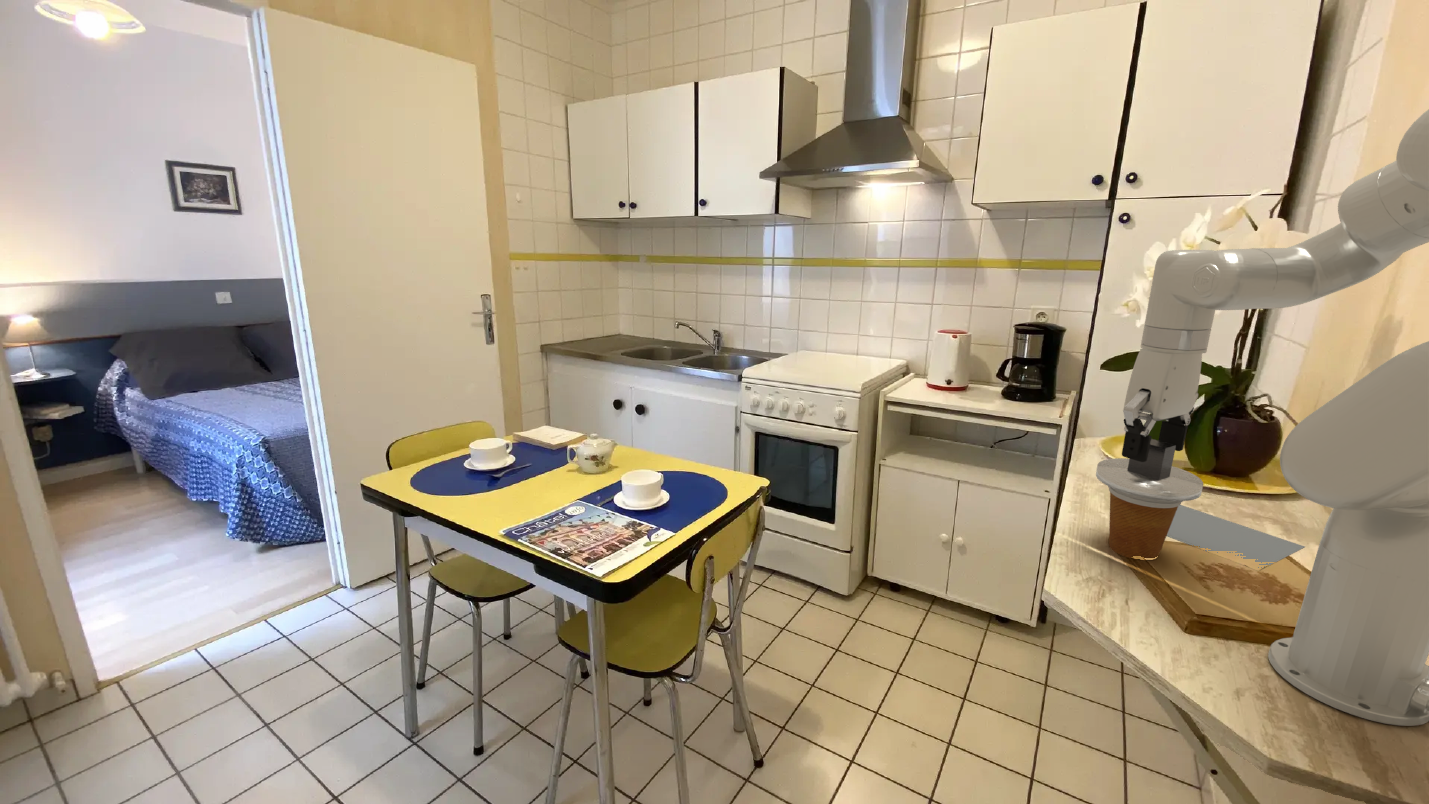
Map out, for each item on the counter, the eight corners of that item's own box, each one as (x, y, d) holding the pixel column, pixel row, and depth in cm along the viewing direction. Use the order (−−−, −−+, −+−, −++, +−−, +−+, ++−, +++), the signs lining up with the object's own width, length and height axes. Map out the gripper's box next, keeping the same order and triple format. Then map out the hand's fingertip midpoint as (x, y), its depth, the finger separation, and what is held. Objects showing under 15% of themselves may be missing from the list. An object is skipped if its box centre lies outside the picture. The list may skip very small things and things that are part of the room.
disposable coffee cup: (1099, 560, 91) (1112, 488, 87) (1094, 533, 99) (1106, 467, 95) (1176, 575, 86) (1192, 500, 83) (1164, 546, 94) (1178, 477, 91)
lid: (1219, 489, 86) (1229, 448, 85) (1170, 508, 81) (1180, 464, 79) (1125, 461, 98) (1132, 424, 96) (1077, 476, 92) (1083, 437, 90)
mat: (1304, 550, 93) (1305, 546, 92) (1257, 574, 86) (1258, 570, 86) (1163, 502, 110) (1164, 499, 110) (1115, 519, 103) (1116, 516, 103)
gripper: (1178, 331, 90) (1157, 437, 95) (1110, 341, 83) (1091, 455, 87) (1237, 337, 84) (1212, 451, 89) (1170, 349, 76) (1146, 472, 81)
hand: (1152, 453), depth 88 cm, fingers open, 9 cm apart
